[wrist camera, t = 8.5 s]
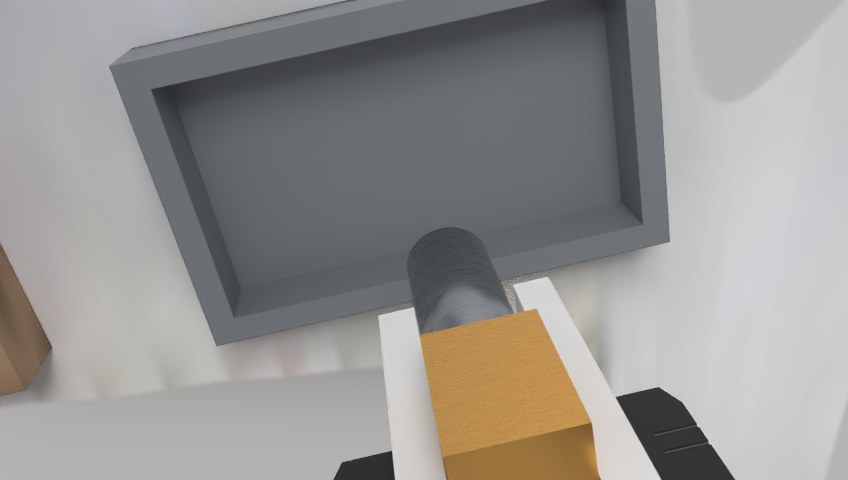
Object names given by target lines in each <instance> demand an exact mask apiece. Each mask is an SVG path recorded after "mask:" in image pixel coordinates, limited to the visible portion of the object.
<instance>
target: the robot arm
mask: <svg viewBox="0 0 848 480" xmlns="http://www.w3.org/2000/svg"><path fill="white" fill-rule="evenodd" d="M513 290H514V295H515V301H516V307H517V313H519V312H523V311H527V310H532V309H537V311H538V313H539V315H540V317H541V319H542V321H543V323H544V325H545V327H546V329H547V331H548V333H549V336H550V338H551V340H552V342H553V344H554V346H555V348H556V350H557V352H558V354H559V356H560V358H561V360H562V362H563V364H564V366H565V368H566V370H567V372H568V375H569V377H570V379H571V381H572V383H573V385H574V387H575V389H576V391H577V393H578V395H579V397H580V399H581V401H582V403H583V405H584V407H585V409H586V412H587V414H588V416H589V418H590V420H591V422H592V427H593V435H594V443H595V451H596V459H597V466H598V474H599V480H735V479H734V478H733V476H732V475H731V473H730V472H729V470H728V469H727V467H726V466H725V464H724V463H723V461H722V460H721V459H720V457H719V456H718V454H717V453H716V451H715V450H714V448H713V447H712V445H709V443H708V440H707V438H706V437H705V435H704V434H703V432H702V431H701V429H700V428H699V427H697V424H696V422H695V420H694V419H693V418H692V416H691V415H690V413H689V412H688V410H687V409H686V407H685V406H684V404H683V403H682V402H681V401H679V400H678V399H676V398H674V397H673V396H671V395H670V394H668V393H667V392H665V391H664V390H662V389H661V388H659V387H657V388H653V389H649V390H644V391H640V392H636V393H631V394H627V395H623V396H618V397H615V396H614V394H613V392H612V390H611V389H610V387H609V385H608V383H607V381H606V380H605V378H604V376H603V374H602V372H601V371H600V369H599V367H598V365H597V363H596V362H595V360H594V358H593V356H592V354H591V353H590V351H589V349H588V347H587V345H586V344H585V342H584V340H583V338H582V337H581V335H580V333H579V331H578V329H577V328H576V326H575V324H574V322H573V320H572V319H571V317H570V315H569V313H568V311H567V310H566V308H565V306H564V304H563V302H562V301H561V299H560V297H559V295H558V293H557V292H556V290H555V288H554V286H553V284H552V283H551V281H550V279H549V277H543V278H539V279H535V280H530V281H526V282H522V283H517V284H513ZM378 318H379V328H380V338H381V348H382V357H383V367H384V376H385V386H386V396H387V405H388V416H389V425H390V435H391V444H392V451H389V452H386V453H381V454H376V455H372V456H368V457H364V458H359V459H355V460H351V461H346V462H342V464H341V466H340V468H339V470H338V472H337V474H336V476H335V478H334V480H448V477H447V473H446V469H445V465H444V461H443V457H442V451H441V446H440V441H439V436H438V430H437V425H436V420H435V415H434V410H433V404H432V399H431V394H430V389H429V383H428V378H427V373H426V368H425V363H424V357H423V352H422V347H421V342H420V336H419V335H420V331H419V327H418V323H417V319H416V314H415V310H414V307H413V308H408V309H404V310H400V311H395V312H391V313H387V314H382V315H378Z"/></svg>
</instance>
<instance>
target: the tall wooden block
mask: <svg viewBox="0 0 848 480" xmlns="http://www.w3.org/2000/svg"><path fill="white" fill-rule="evenodd" d="M407 274H408V280H409V285H410V290H411V295H412V300H413V306H414V310H415V314H416V319H417V323H418V327H419V331H420V335H419V336H420V342H421V347H422V352H423V357H424V363H425V368H426V373H427V378H428V383H429V389H430V394H431V399H432V404H433V410H434V415H435V420H436V425H437V430H438V436H439V441H440V446H441V451H442V457H443V461H444V465H445V469H446V473H447V477H448V480H599V474H598V466H597V459H596V451H595V443H594V435H593V427H592V422H591V420H590V418H589V416H588V414H587V412H586V409H585V407H584V405H583V403H582V401H581V399H580V397H579V395H578V393H577V391H576V389H575V387H574V385H573V383H572V381H571V379H570V377H569V375H568V372H567V370H566V368H565V366H564V364H563V362H562V360H561V358H560V356H559V354H558V352H557V350H556V348H555V346H554V344H553V342H552V340H551V338H550V336H549V333H548V331H547V329H546V327H545V325H544V323H543V321H542V319H541V317H540V315H539V313H538V311H537V309H532V310H527V311H523V312H519V313H513V310H512V308H511V306H510V303H509V301H508V299H507V296H506V294H505V292H504V289H503V287H502V285H501V282H500V280H499V278H498V275H497V273H496V271H495V268H494V266H493V263H492V261H491V259H490V256H489V254H488V252H487V249H486V247H485V245H484V244H483V242H482V241H481V240H480V239H479V238H478V237H477V236H476V235H474V234H473V233H471V232H469V231H467V230H465V229H461V228H456V227H445V228H440V229H436V230H433V231H431V232H429V233H427V234H426V235H424V236H423V237H421V238H420V239H419V240H418V241H417V242H416V243H415V245H414V246H413V248H412V249H411V251H410V253H409V256H408V259H407Z"/></svg>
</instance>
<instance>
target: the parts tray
mask: <svg viewBox="0 0 848 480" xmlns="http://www.w3.org/2000/svg"><path fill="white" fill-rule="evenodd" d="M109 67H110V70H111V72H112V75H113V77H114V80H115V83H116V85H117V88H118V90H119V93H120V96H121V98H122V101H123V103H124V106H125V109H126V111H127V114H128V116H129V119H130V122H131V124H132V127H133V129H134V132H135V135H136V137H137V140H138V143H139V145H140V148H141V150H142V153H143V156H144V158H145V161H146V163H147V166H148V169H149V171H150V174H151V176H152V179H153V182H154V184H155V187H156V189H157V192H158V195H159V197H160V200H161V202H162V205H163V208H164V210H165V213H166V215H167V218H168V221H169V223H170V226H171V228H172V231H173V234H174V236H175V239H176V242H177V244H178V247H179V249H180V252H181V255H182V257H183V260H184V262H185V265H186V268H187V270H188V273H189V275H190V278H191V281H192V283H193V286H194V288H195V291H196V294H197V296H198V299H199V301H200V304H201V307H202V309H203V312H204V314H205V317H206V320H207V322H208V325H209V328H210V330H211V333H212V335H213V338H214V341H215V343H216V346H219V345H224V344H228V343H232V342H237V341H241V340H245V339H250V338H254V337H258V336H263V335H267V334H271V333H276V332H280V331H284V330H289V329H293V328H298V327H302V326H306V325H311V324H315V323H319V322H324V321H328V320H332V319H337V318H341V317H345V316H350V315H354V314H358V313H363V312H367V311H371V310H376V309H380V308H385V307H389V306H393V305H398V304H402V303H406V302H411V301H413V300H412V295H411V290H410V285H409V280H408V274H407V259H408V256H409V253H410V251H411V249H412V248H413V246H414V245H415V243H416V242H417V241H418V240H419V239H420V238H421V237H423V236H424V235H426V234H427V233H429V232H431V231H433V230H436V229H440V228H445V227H456V228H461V229H465V230H467V231H469V232H471V233H473V234H474V235H476V236H477V237H478V238H479V239H480V240H481V241H482V242H483V244H484V245H485V247H486V249H487V252H488V254H489V256H490V259H491V261H492V263H493V266H494V268H495V271H496V273H497V275H498V278H499V280H500V281H502V280H506V279H511V278H515V277H519V276H524V275H528V274H532V273H537V272H541V271H545V270H550V269H554V268H558V267H563V266H567V265H572V264H576V263H580V262H585V261H589V260H593V259H598V258H602V257H606V256H611V255H615V254H619V253H624V252H628V251H632V250H637V249H641V248H645V247H650V246H654V245H659V244H663V243H667V242H670V236H669V219H668V203H667V186H666V170H665V153H664V137H663V121H662V104H661V88H660V71H659V55H658V39H657V22H656V6H655V0H346V1H342V2H338V3H333V4H329V5H324V6H320V7H315V8H311V9H306V10H302V11H297V12H293V13H288V14H284V15H279V16H275V17H271V18H266V19H262V20H257V21H253V22H248V23H244V24H239V25H235V26H230V27H226V28H221V29H217V30H212V31H208V32H203V33H199V34H195V35H190V36H186V37H181V38H177V39H172V40H168V41H163V42H159V43H154V44H150V45H145V46H141V47H136V48H132V49H131V50H129V51H128V52H127V53H125V54H124V55H123V56H122V57H120V58H119V59H118V60H116V61H115V62H114V63H113V64H111V65H110V66H109Z"/></svg>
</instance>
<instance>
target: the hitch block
mask: <svg viewBox="0 0 848 480" xmlns="http://www.w3.org/2000/svg"><path fill="white" fill-rule="evenodd" d="M51 348H52V347H51V345H50V343H49V341H48V339H47V337H46V335H45V333H44V331H43V329H42V327H41V325H40V323H39V321H38V319H37V317H36V315H35V313H34V311H33V309H32V307H31V305H30V303H29V301H28V299H27V297H26V295H25V293H24V291H23V289H22V287H21V285H20V283H19V281H18V279H17V277H16V275H15V273H14V271H13V269H12V267H11V265H10V263H9V261H8V259H7V257H6V255H5V253H4V251H3V249H2V247H1V245H0V396H2V395H6V394H10V393H15V392H19V391H23V390H26V388H27V387H28V385H29V383H30V382H31V380H32V379H33V377H34V375H35V374H36V372H37V370H38V369H39V367H40V366H41V364H42V362H43V361H44V359H45V357H46V356H47V354H48V353H49V351H50V349H51Z"/></svg>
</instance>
